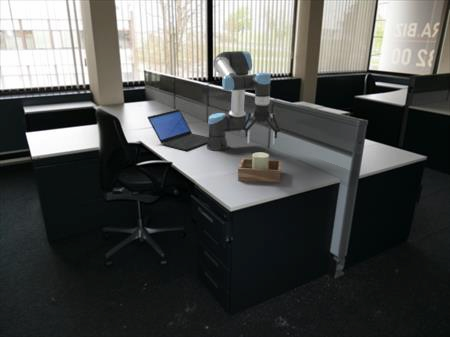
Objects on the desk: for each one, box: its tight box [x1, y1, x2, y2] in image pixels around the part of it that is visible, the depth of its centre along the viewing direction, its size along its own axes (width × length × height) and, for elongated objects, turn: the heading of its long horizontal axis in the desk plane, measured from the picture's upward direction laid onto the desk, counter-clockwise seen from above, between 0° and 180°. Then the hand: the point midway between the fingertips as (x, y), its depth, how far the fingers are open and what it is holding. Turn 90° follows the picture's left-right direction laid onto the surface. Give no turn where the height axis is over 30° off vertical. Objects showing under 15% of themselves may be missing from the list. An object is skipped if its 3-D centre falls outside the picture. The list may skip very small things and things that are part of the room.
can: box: [251, 151, 270, 170], centre depth 192 cm, size 9×9×12 cm
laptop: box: [147, 109, 209, 152], centre depth 255 cm, size 33×38×19 cm
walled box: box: [237, 157, 282, 184], centre depth 193 cm, size 16×22×7 cm
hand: (260, 143), depth 188 cm, fingers open, 13 cm apart
